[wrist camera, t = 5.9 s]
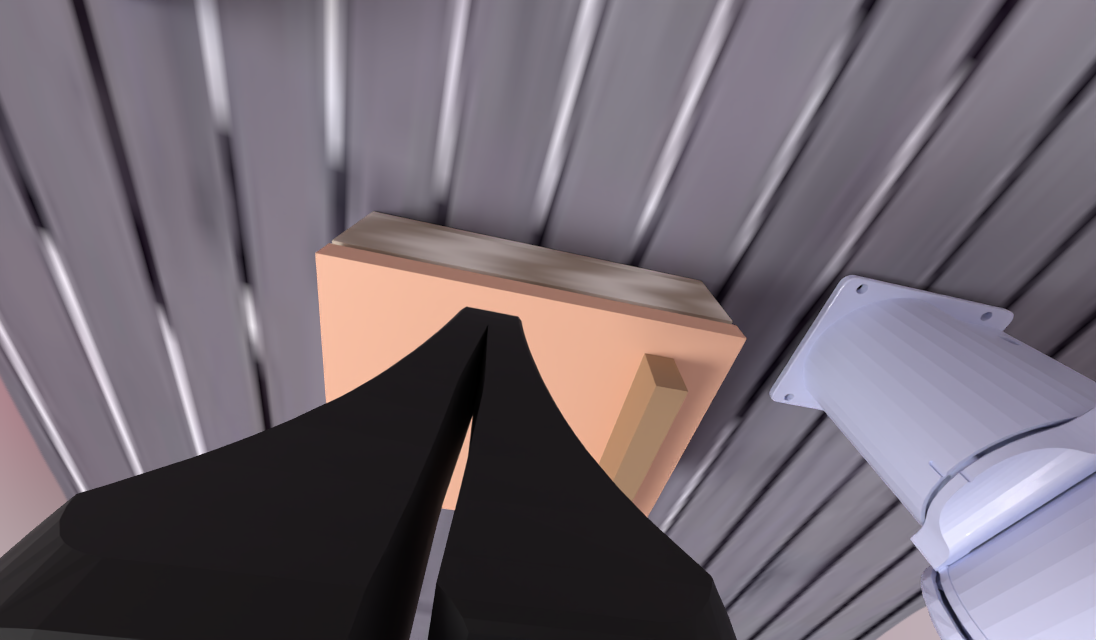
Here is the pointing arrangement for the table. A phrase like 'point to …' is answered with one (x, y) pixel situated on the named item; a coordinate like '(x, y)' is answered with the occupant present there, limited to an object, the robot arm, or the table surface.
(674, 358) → the sliding lid
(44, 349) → the table surface
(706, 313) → the storage case
